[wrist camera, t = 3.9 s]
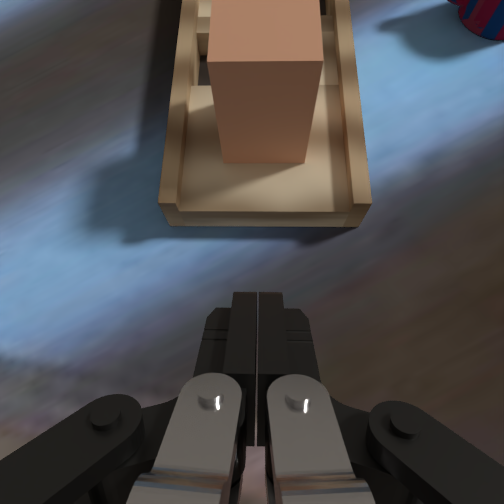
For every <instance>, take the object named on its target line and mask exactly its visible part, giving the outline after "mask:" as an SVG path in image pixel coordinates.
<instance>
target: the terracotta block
mask: <svg viewBox="0 0 504 504" xmlns="http://www.w3.org/2000/svg"><path fill="white" fill-rule="evenodd" d="M323 61H324V59H323V45H322V31H321V17H320V3H319V0H212V4H211V17H210V29H209V42H208V55H207V65H208V71H209V77H210V83H211V89H212V96H213V102H214V108H215V114H216V120H217V126H218V132H219V138H220V144H221V150H222V156H223V163H305V158H306V153H307V147H308V142H309V137H310V131H311V126H312V121H313V115H314V110H315V104H316V99H317V94H318V88H319V83H320V78H321V72H322V67H323Z"/></svg>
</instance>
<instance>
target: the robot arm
mask: <svg viewBox="0 0 504 504" xmlns="http://www.w3.org/2000/svg"><path fill="white" fill-rule="evenodd" d="M256 343H257V292H234V293H233V300H232V307H231V308H215V309H214V310H213V312H212V313H211V314H210V315H209V316H208V317H207V320H206V324H205V328H204V332H203V337H202V341H201V345H200V349H199V354H198V358H197V362H196V366H195V371H194V375H193V378H192V379H191V380H190V381H188V382H187V383H186V384H185V385H184V386H183V388H182V390H181V392H180V394H179V396H178V397H176V398H174V399H173V400H170V401H168V402H165V403H162V404H158V405H154V406H150V407H146V408H142V409H141V406H140V404H139V403H138V401H137V400H136V399H134V398H133V397H130V396H128V395H123V394H113V395H107V396H104V397H101V398H98V399H96V400H94V401H92V402H90V403H89V404H87V405H86V406H84V407H83V408H81V409H79V410H78V411H76V412H75V413H73V414H72V415H70V416H69V417H67V418H65V419H64V420H62V421H61V422H59V423H58V424H56V425H55V426H53V427H52V428H50V429H48V430H47V431H45V432H44V433H42V434H41V435H39V436H38V437H36V438H34V439H33V440H31V441H30V442H28V443H27V444H25V445H24V446H22V447H20V448H19V449H17V450H16V451H14V452H13V453H11V454H10V455H8V456H7V457H5V458H3V459H2V460H0V504H240V497H241V489H242V481H243V471H244V468H245V460H246V446H254V441H255V393H256ZM257 446H265V486H266V498H267V504H504V467H503V466H502V465H501V464H499V463H498V462H496V461H495V460H493V459H492V458H490V457H489V456H488V455H486V454H485V453H483V452H482V451H480V450H479V449H477V448H476V447H475V446H473V445H472V444H470V443H469V442H467V441H466V440H465V439H463V438H462V437H460V436H459V435H457V434H456V433H454V432H453V431H452V430H450V429H449V428H447V427H446V426H444V425H443V424H441V423H440V422H439V421H437V420H436V419H434V418H433V417H431V416H430V415H428V414H427V413H426V412H424V411H423V410H421V409H419V408H418V407H416V406H413V405H411V404H408V403H405V402H401V401H385V402H382V403H379V404H378V405H376V406H375V407H374V408H373V409H372V410H371V412H370V413H369V412H366V411H362V410H359V409H355V408H352V407H349V406H346V405H344V404H342V403H340V402H338V401H336V400H335V399H334V398H332V397H331V396H330V395H329V394H328V391H327V390H326V388H325V387H324V386H323V385H322V384H321V380H320V376H319V371H318V365H317V360H316V355H315V350H314V345H313V340H312V335H311V330H310V325H309V320H308V318H307V317H306V316H305V315H304V313H303V312H302V311H301V310H300V309H284V305H283V295H282V292H259V326H258V405H257Z"/></svg>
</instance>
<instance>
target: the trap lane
mask: <svg viewBox="0 0 504 504" xmlns="http://www.w3.org/2000/svg"><path fill="white" fill-rule="evenodd" d="M319 3H320V17H321V31H322V45H323V59H324V61H323V67H322V72H321V78H320V83H319V88H318V94H317V99H316V104H315V110H314V115H313V121H312V126H311V131H310V137H309V142H308V147H307V153H306V158H305V163H223V156H222V150H221V144H220V138H219V132H218V126H217V120H216V114H215V108H214V102H213V96H212V89H211V83H210V77H209V71H208V65H207V55H208V42H209V29H210V17H211V4H212V0H182V7H181V15H180V23H179V32H178V40H177V48H176V56H175V65H174V73H173V81H172V89H171V98H170V106H169V114H168V123H167V131H166V139H165V147H164V156H163V164H162V172H161V180H160V189H159V197H158V204H159V206H160V208H161V210H162V212H163V214H164V215H165V217H166V219H167V221H168V223H169V225H170V226H256V227H359V225H360V223H361V222H362V220H363V218H364V216H365V215H366V213H367V211H368V210H369V208H370V206H371V204H372V199H371V190H370V181H369V172H368V164H367V155H366V146H365V137H364V129H363V120H362V111H361V102H360V93H359V85H358V76H357V67H356V58H355V49H354V41H353V32H352V23H351V14H350V6H349V0H319Z"/></svg>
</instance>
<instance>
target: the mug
mask: <svg viewBox="0 0 504 504" xmlns="http://www.w3.org/2000/svg"><path fill="white" fill-rule="evenodd" d="M447 1H449V2H451V3H453V4H455V5H457V6H459V9H458V13H459V17H460V19H461V21H462V23H463V24H464V25H465V27H467V28H468V29H469V30H470V31H472V32H473V33H475V34H477V35H479V36H481V37H484V38H488V39H492V40H504V0H447Z"/></svg>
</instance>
